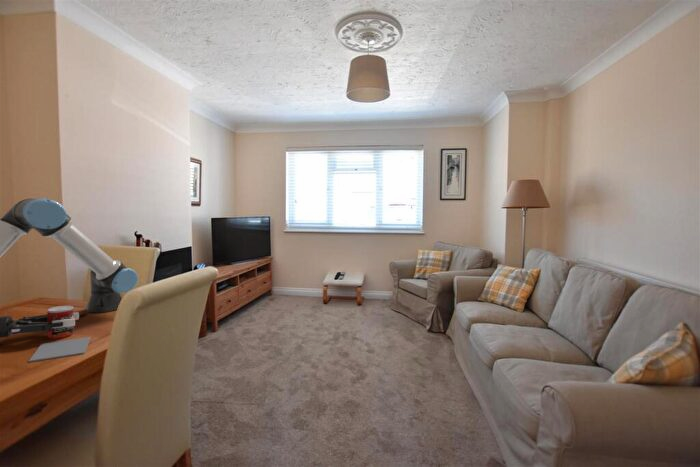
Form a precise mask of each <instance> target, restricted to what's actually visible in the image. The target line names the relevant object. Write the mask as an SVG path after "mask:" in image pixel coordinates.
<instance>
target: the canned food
mask: <svg viewBox="0 0 700 467" xmlns="http://www.w3.org/2000/svg"><path fill="white" fill-rule="evenodd" d="M46 313H47V314H46V315H47V321H48V322H52V321H56V320H65V319H74V313H75V312H74V306H72V305H59V306H52V307H50V308H48V309H47V312H46ZM74 327H75V326H69V327H60V328H52V331H47V337H48V339H50V340H60V339H65V338H68V337H71V336H73V335H74V333H75V332H74V329H75V328H74Z"/></svg>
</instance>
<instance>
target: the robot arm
mask: <svg viewBox="0 0 700 467" xmlns="http://www.w3.org/2000/svg"><path fill="white" fill-rule="evenodd" d="M72 221H73V219H72V217H70V216H69V215H68V213H67V210H66V209H65V207H64V206H63V205H62V204H61V203H59V202H57V201H56V200H53V199H49V198H43V197H41V198H24V199H21V200H20V201H18V202H17V203H15V204H14V205H13V206H12V207H11V208H9V209H8V210H7V212H6V213H5V214H4V215H3V216H2V217H1V218H0V258H2V257H3V255H4V254H5V253H7V251H8V250H10V248H11V247H12V246H13V245H15V243H16V242H17V241H18V240H19V239H20V238H21V237H22V236H25V235H28V234H29V233H30V231H32V230H34V231H36V232H37V233H39V235H41V236H42V237H44V238H52V239H53V240H54V241H56V242H57V243H58V244H59V245H60V246H61V247H63V249H65V250H67V251H68V252H69V253H70V254H71V255H72V256H74V257H75V258H77V260H79V261H80V262H81V263H82V264H84V265H85V266H86V267H87V268H89V269H90V270H89V271H90V272H89V273H90V296H89V298H88V301H87V304H86V309H85V310H86V312H88V313H106V312H112V311H113V310H114V311H117V308H118V305H119V303H120V301H121V299H123V298H122V295H121V294H125V293H129V292H131V291H132V290H133V289H135V287H136V286H137V284H138V282H139V275H138V273H137V272H136V271H135V270H134V269H132V268H129V267H127V266H126V265H125V264H124V263H122V262H121V261H120V260H118V259H114V260H113V258H111V257H110V256H109V255H108V254H107V253H105V252H104V251H103V250H102V249H101V248H100V247H99V246H98V245H97V244H96V243H94V242H93V241H92V240H91V239H90V238H89V237H87V235H85V234H84V233H83V232H82V231H81V230H79V228H77V227H76V226H75V225H74V224H73V223H72ZM130 290H131V291H130ZM128 291H129V292H128ZM79 318H80V314H79V312H74V319H65V320H56V321H52V322H48V321H47V314H41V315H33V316H23V317H22V318H18V319H17V320H14V319H13V317H12V316H10V315H5V316H0V338H8V337H10V336H11V335H18V334H28V333H37V332H38V333H39V332H48V331H52V328H60V327H69V326H74V327H75V326H76V321H77V320H79Z"/></svg>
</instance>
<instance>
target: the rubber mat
mask: <svg viewBox="0 0 700 467" xmlns="http://www.w3.org/2000/svg"><path fill="white" fill-rule="evenodd" d="M90 341H91V336H89V337H81V338H73V339H66V340H58V341H51V342H45V343H41V344H40V345H39V347H38V348H37V349H36V350H35V352H34V353H33V355H32V356H31V357H30V358H29V360H28V363H33V362H34V363H35V362H38V361H39V362H40V361H45V360H51V359H52V360H53V359H60V358H65V357H71V356H72V357H73V356H78V354H79V355H84V353H86V351H87V348H88V346H89V344H90Z"/></svg>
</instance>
